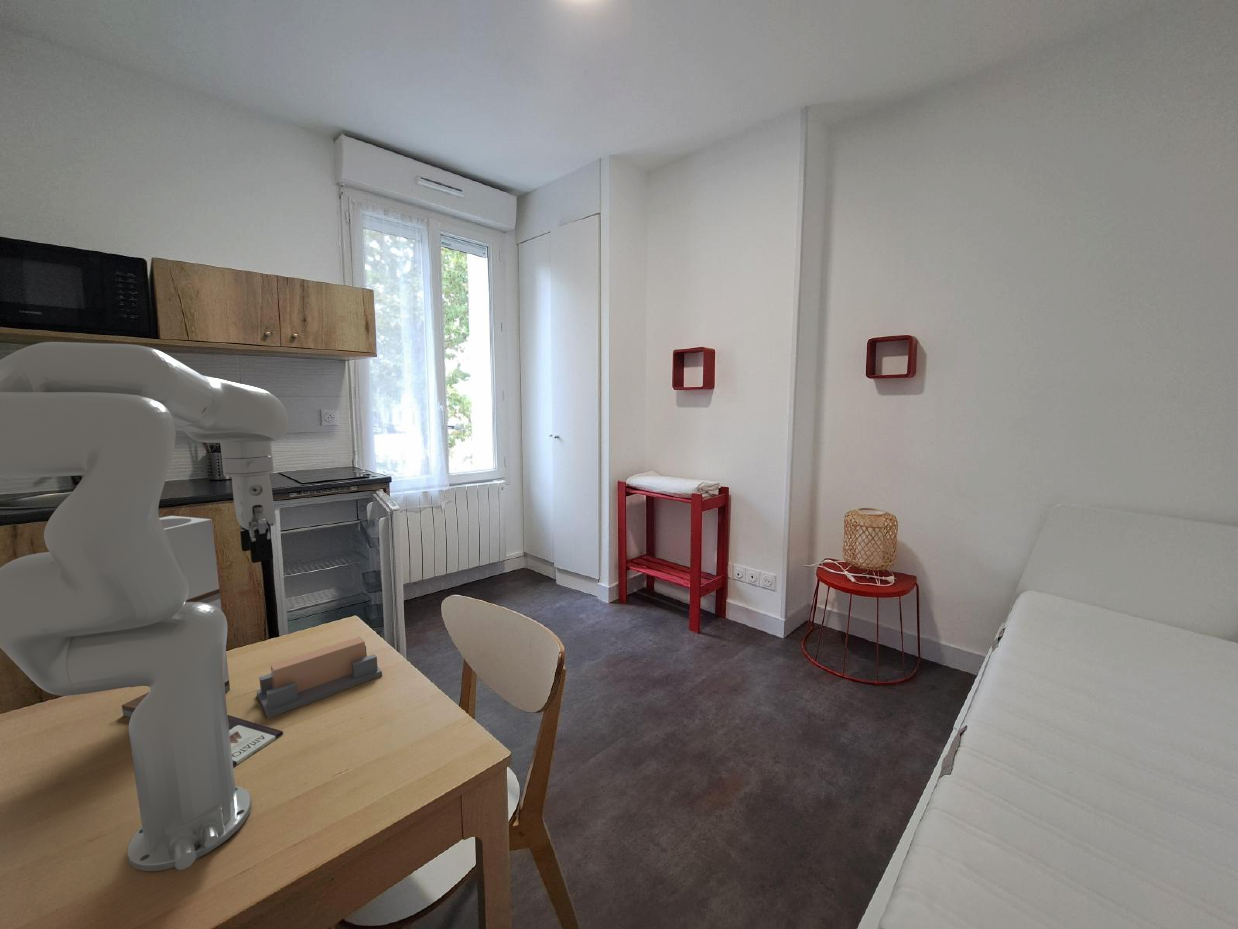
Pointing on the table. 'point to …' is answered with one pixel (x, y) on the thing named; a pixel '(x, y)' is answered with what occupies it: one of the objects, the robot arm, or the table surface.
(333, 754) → the table surface
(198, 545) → the white open storage bin
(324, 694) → the grey slotted stand
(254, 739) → the chocolate bar
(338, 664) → the clay bar
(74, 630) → the robot arm
